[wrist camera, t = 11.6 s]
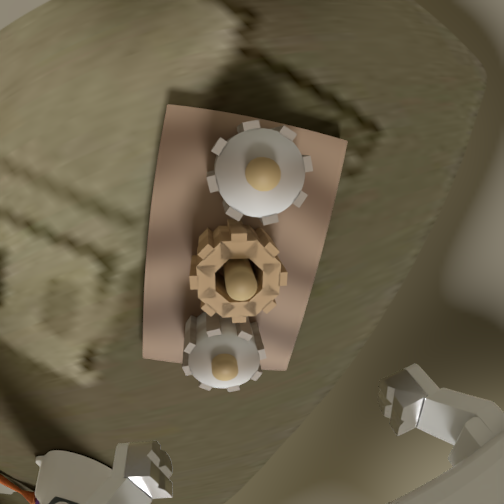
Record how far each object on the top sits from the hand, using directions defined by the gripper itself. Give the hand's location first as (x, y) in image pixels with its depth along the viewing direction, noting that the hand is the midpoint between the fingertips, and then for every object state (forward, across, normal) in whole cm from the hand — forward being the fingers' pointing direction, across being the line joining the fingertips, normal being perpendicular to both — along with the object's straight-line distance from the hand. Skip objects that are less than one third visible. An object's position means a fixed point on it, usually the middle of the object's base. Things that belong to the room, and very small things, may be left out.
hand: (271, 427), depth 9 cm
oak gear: (+16, 0, 0) cm, 16 cm away
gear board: (+18, 0, 0) cm, 18 cm away
